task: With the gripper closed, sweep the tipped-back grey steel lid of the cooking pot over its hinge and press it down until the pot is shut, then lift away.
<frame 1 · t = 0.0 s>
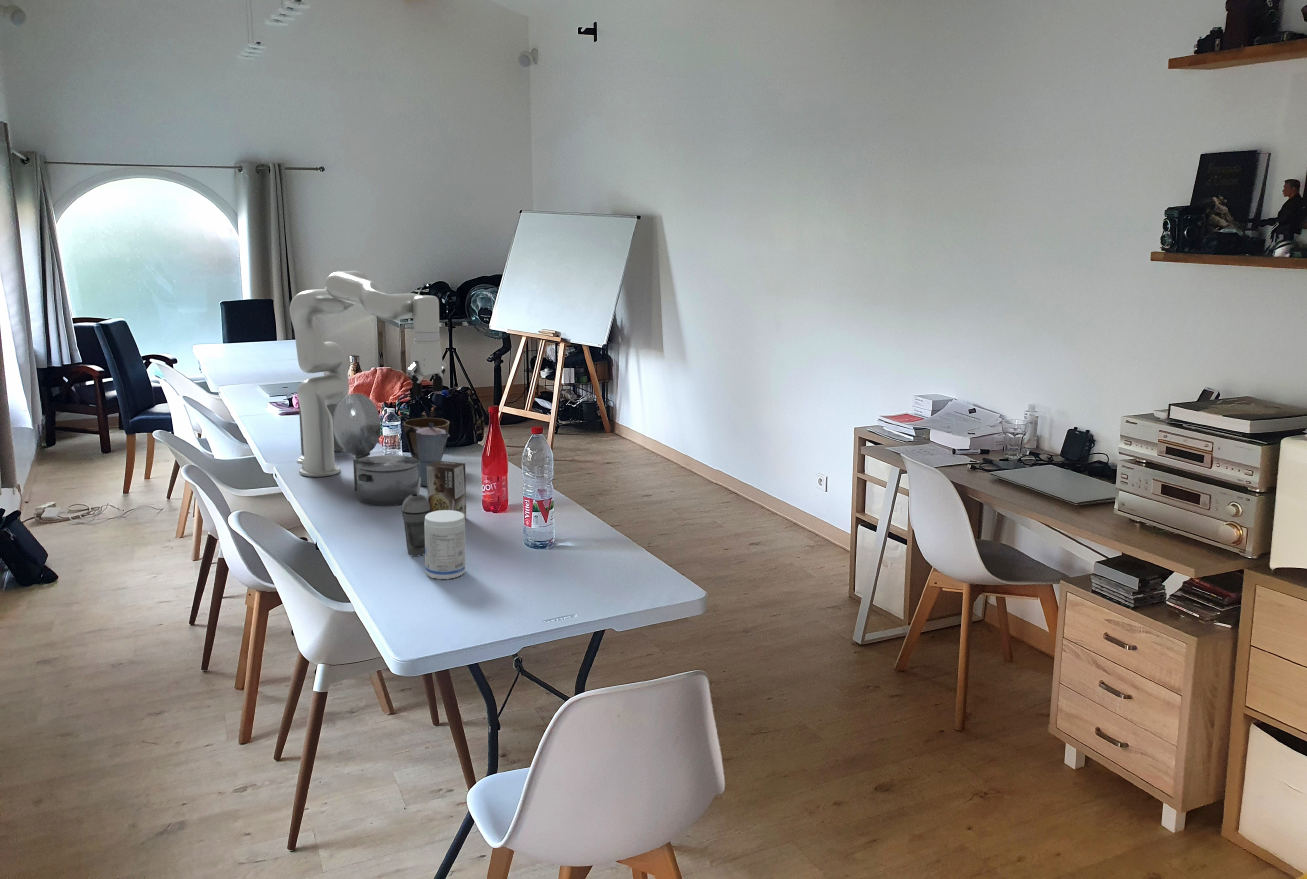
hand: (427, 393, 291), 31 cm above the table, tool pointing down, fingers open, 9 cm apart
grey upright box: (322, 452, 344), on the table
moka pot: (428, 483, 308), on the table
cooking pot: (388, 497, 291), on the table
supplement tub: (445, 574, 231), on the table
coffee box: (447, 519, 272), on the table
beverage cup: (417, 553, 244), on the table
plant pot: (427, 468, 326), on the table
lid: (355, 425, 291), point 21 cm above the table, hinge at 100.0°
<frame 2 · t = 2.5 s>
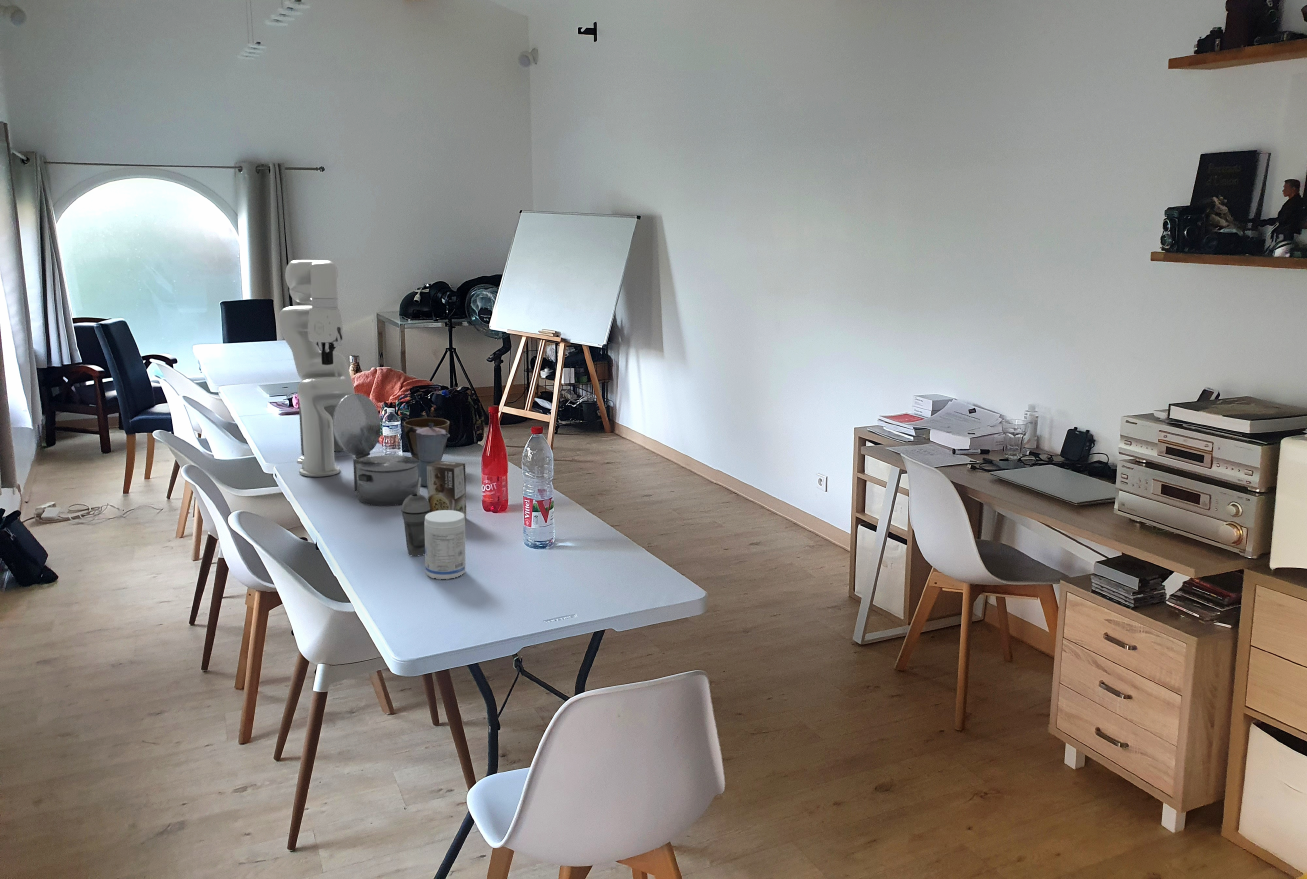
hand: (327, 364, 291), 39 cm above the table, tool pointing down, fingers closed
nothing on the table moved.
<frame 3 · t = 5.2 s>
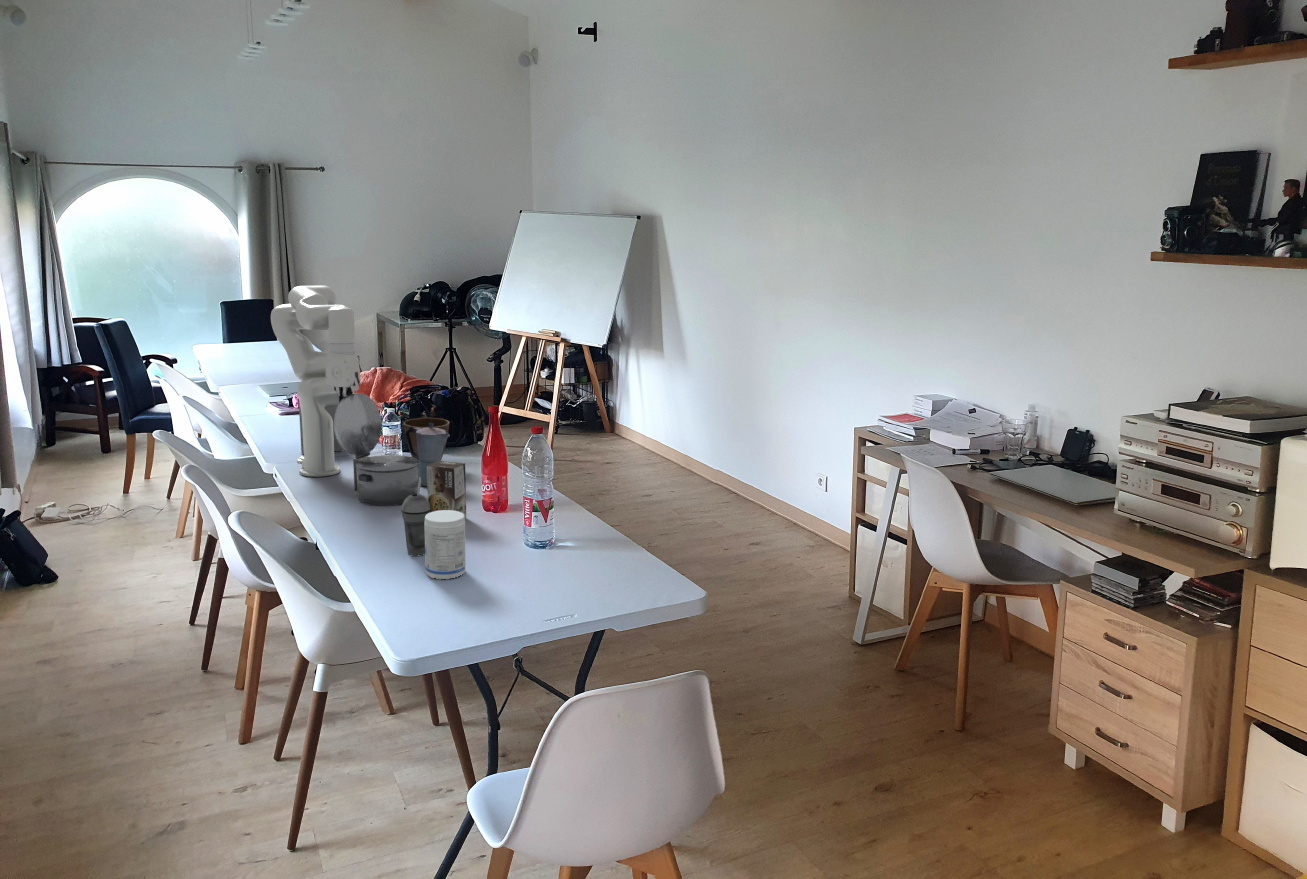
hand: (345, 408, 291), 26 cm above the table, tool pointing down, fingers closed
lid: (356, 425, 291), point 21 cm above the table, hinge at 98.0°, touching gripper
everything else where it was.
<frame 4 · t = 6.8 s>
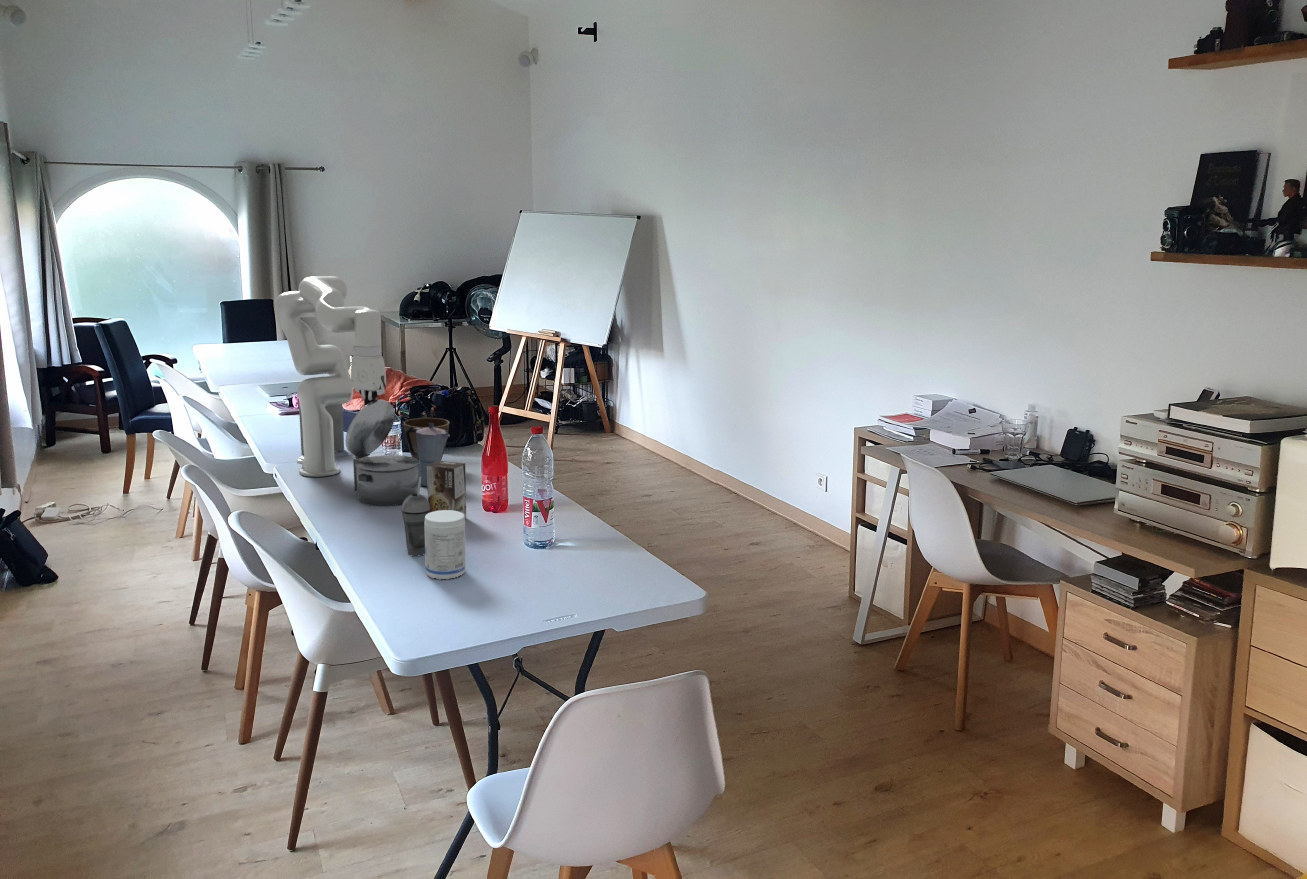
hand: (370, 412, 288), 26 cm above the table, tool pointing down, fingers closed
lid: (368, 427, 289), point 21 cm above the table, hinge at 68.5°, touching gripper
everything else where it was.
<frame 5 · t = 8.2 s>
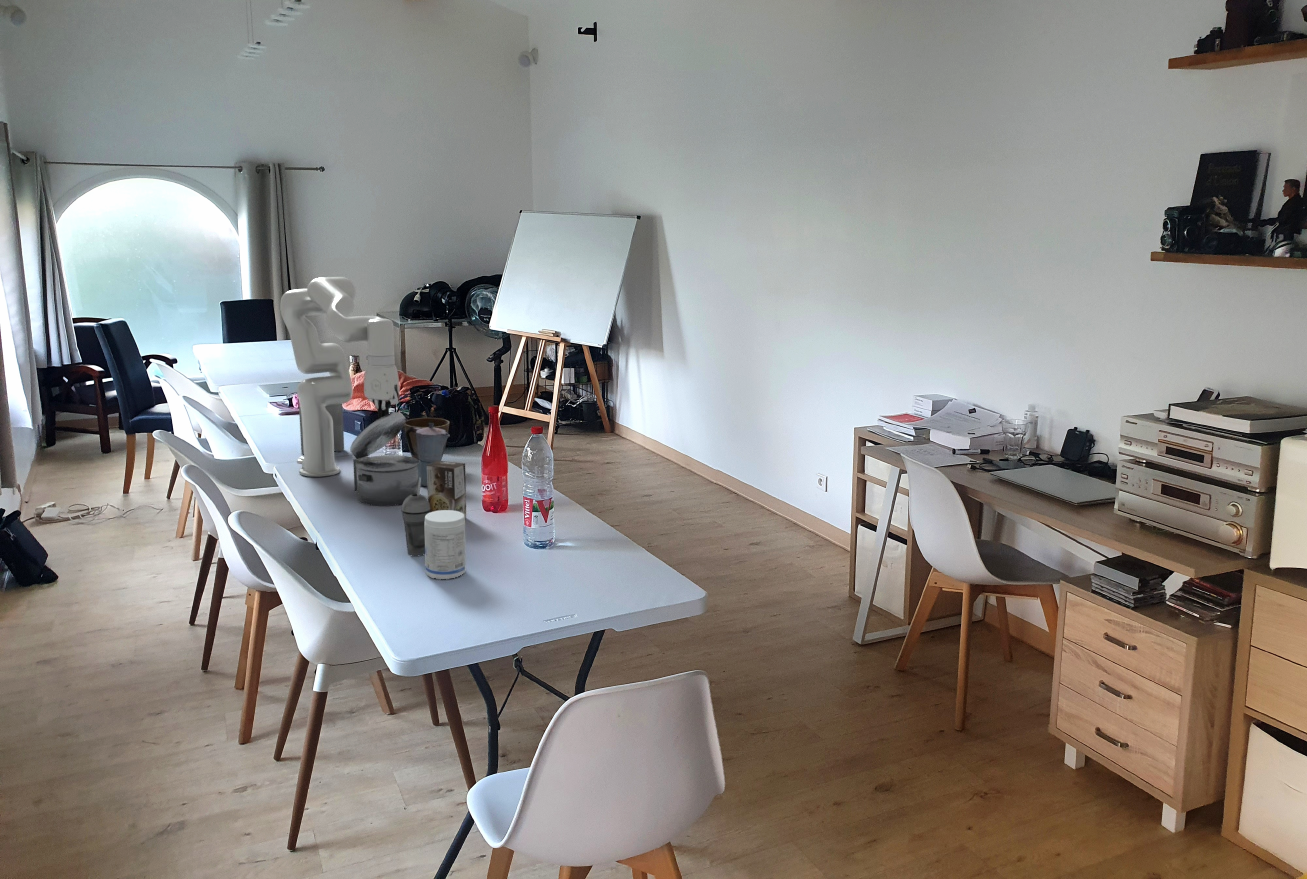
hand: (383, 421, 286), 23 cm above the table, tool pointing down, fingers closed
lid: (375, 433, 288), point 19 cm above the table, hinge at 48.0°, touching gripper
everything else where it was.
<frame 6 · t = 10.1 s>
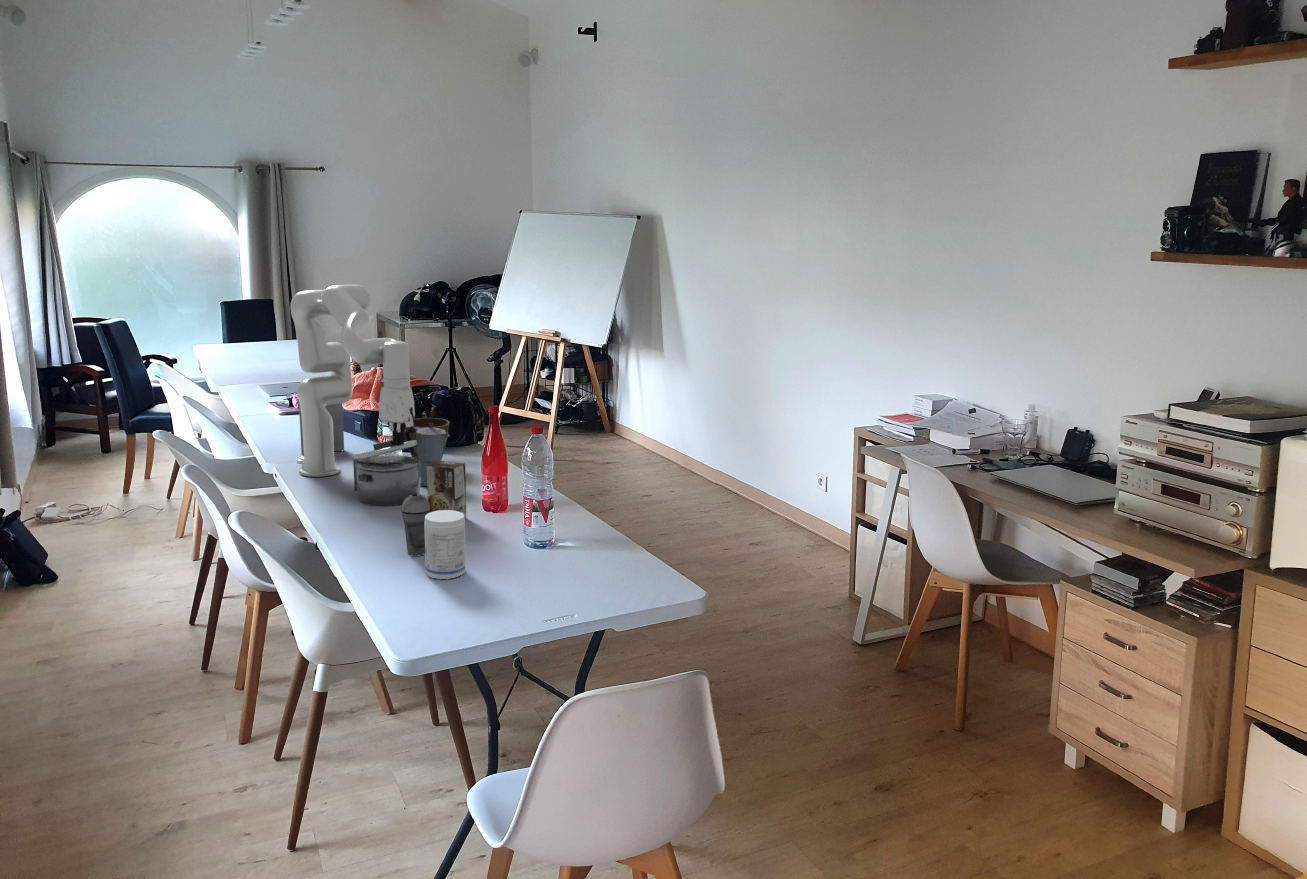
hand: (398, 444, 285), 17 cm above the table, tool pointing down, fingers closed
lid: (384, 447, 288), point 16 cm above the table, hinge at 16.8°, touching gripper
everything else where it was.
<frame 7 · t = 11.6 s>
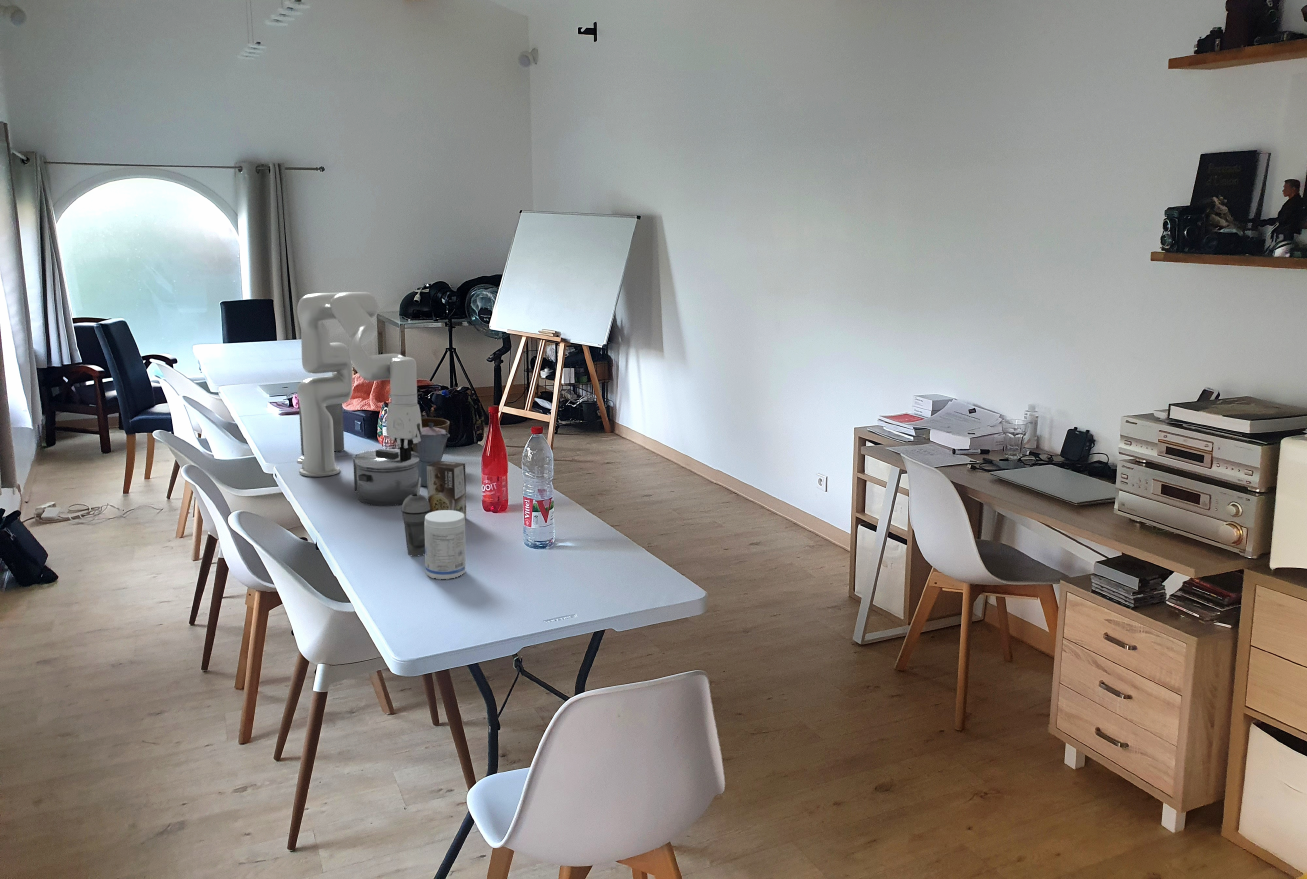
hand: (405, 459, 285), 13 cm above the table, tool pointing down, fingers closed
lid: (386, 456, 288), point 13 cm above the table, hinge at -0.1°, touching gripper
everything else where it was.
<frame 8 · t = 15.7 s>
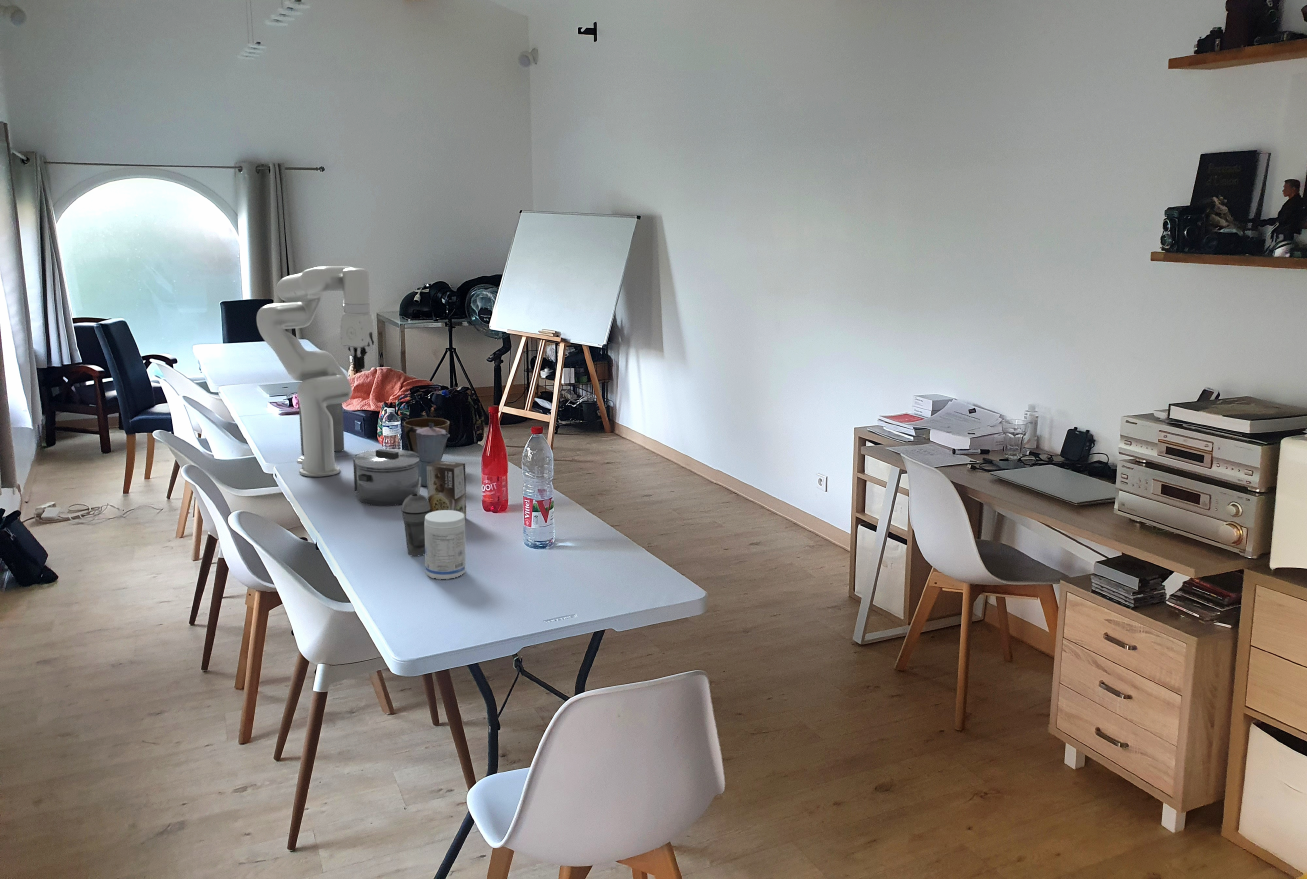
hand: (359, 368, 295), 37 cm above the table, tool pointing down, fingers closed
lid: (386, 456, 288), point 13 cm above the table, hinge at -0.1°
everything else where it was.
at the end: lid at +0° (first picture: +100°); moka pot moved 0.2 cm from its start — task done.
